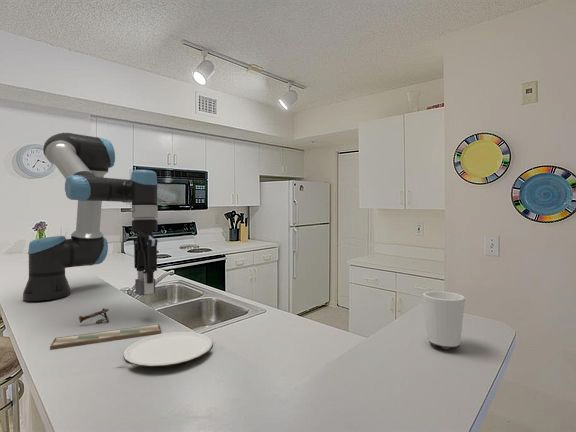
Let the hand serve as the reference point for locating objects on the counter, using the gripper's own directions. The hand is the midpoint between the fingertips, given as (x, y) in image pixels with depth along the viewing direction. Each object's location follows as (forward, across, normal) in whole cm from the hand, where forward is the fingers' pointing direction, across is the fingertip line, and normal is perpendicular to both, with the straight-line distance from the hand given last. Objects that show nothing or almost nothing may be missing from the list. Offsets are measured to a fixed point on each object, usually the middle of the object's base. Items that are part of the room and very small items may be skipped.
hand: (145, 292), depth 105 cm
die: (0, 0, 0) cm, 0 cm away
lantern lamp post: (+8, -10, -16) cm, 20 cm away
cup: (+11, +73, +48) cm, 88 cm away
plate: (+10, +26, -4) cm, 29 cm away
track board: (+9, +7, -12) cm, 17 cm away
